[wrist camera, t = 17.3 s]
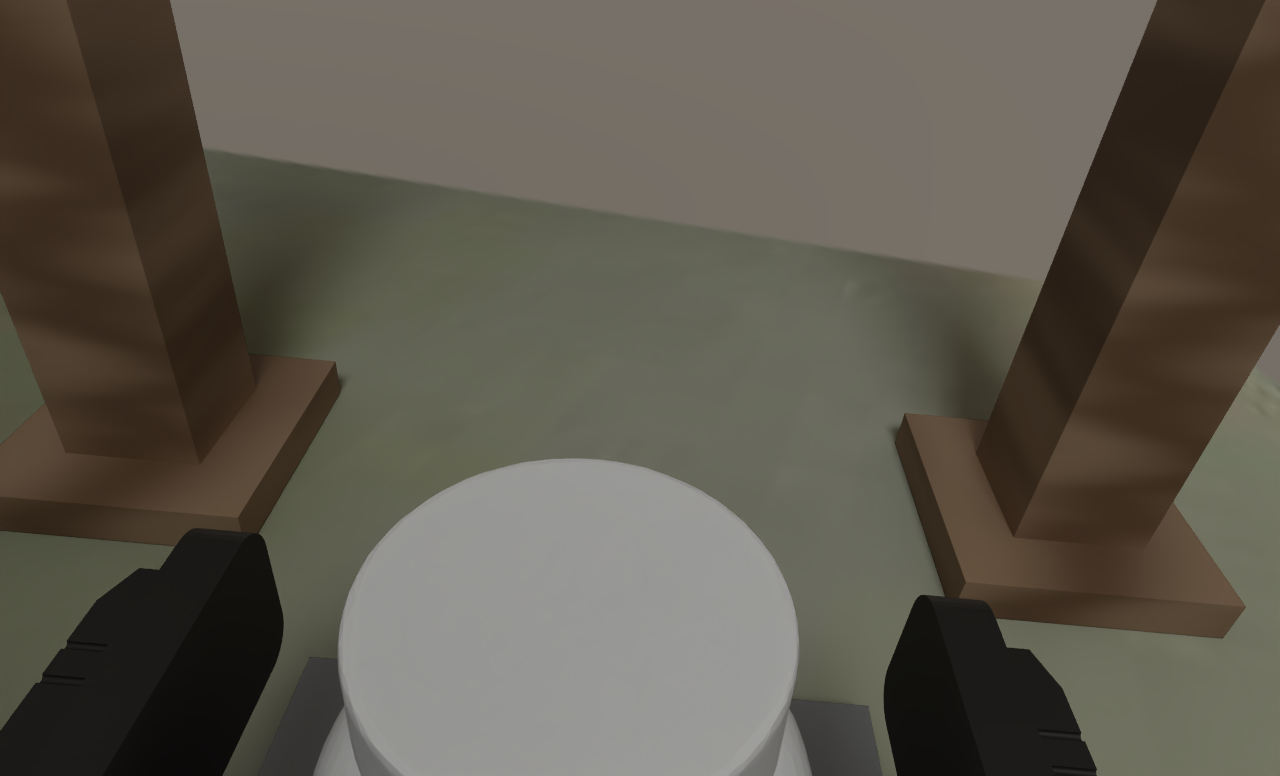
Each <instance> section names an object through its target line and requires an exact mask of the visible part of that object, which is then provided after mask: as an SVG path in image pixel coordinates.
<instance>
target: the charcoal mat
mask: <svg viewBox="0 0 1280 776" xmlns="http://www.w3.org/2000/svg"><path fill="white" fill-rule="evenodd" d="M343 707H344V700H343V695H342V690H341V684H340V679H339V673H338V659H329V658H317V657H309V660H308V662H307V664H306V667H305V669H304V671H303V673H302V676H301V678H300V680H299V682H298V685H297V687H296V689H295V692H294V694H293V696H292V698H291V701H290V703H289V705H288V707H287V710H286V712H285V714H284V717H283V719H282V721H281V723H280V726H279V728H278V730H277V733H276V735H275V737H274V739H273V742H272V744H271V746H270V748H269V751H268V753H267V755H266V758H265V760H264V762H263V764H262V767H261V769H260V771H259V773H258V776H313V774H314V770H315V767H316V764H317V762H318V759H319V756H320V754H321V751H322V748H323V746H324V743H325V741H326V739H327V737H328V735H329V733H330V731H331V729H332V727H333V724H334V722H335V721H336V719H337V717H338V716H339V714H340V712H341V710H342V709H343ZM789 709H790V711H791V713H792V714H793V716H794V719H795V721H796V723H797V726H798V728H799V731H800V734H801V737H802V740H803V742H804V745H805V749H806V753H807V756H808V760H809V764H810V768H811V772H812V776H882V772H881V767H880V762H879V757H878V752H877V747H876V742H875V737H874V732H873V727H872V722H871V717H870V713H869V708H868V706H864V705H853V704H841V703H830V702H819V701H807V700H796V699H791V704H790V708H789Z"/></svg>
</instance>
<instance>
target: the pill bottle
mask: <svg viewBox="0 0 1280 776" xmlns="http://www.w3.org/2000/svg"><path fill="white" fill-rule="evenodd" d="M798 660H799V638H798V624H797V619H796V614H795V610H794V605H793V601H792V597H791V595H790V592H789V590H788V587H787V585H786V582H785V580H784V577H783V575H782V573H781V571H780V569H779V567H778V566H777V564H776V562H775V560H774V558H773V556H772V555H771V554H770V552H769V551H768V550H767V548H766V547H765V546H764V544H763V543H762V542H761V541H760V539H759V538H758V537H757V536H756V535H755V534H754V533H753V532H752V531H751V529H750V528H749V527H748V526H747V525H746V524H745V523H744V522H743V521H742V520H741V519H740V518H738V517H737V516H736V515H735V514H734V513H733V512H731V511H730V510H729V509H728V508H726V507H725V506H724V505H722V504H721V503H720V502H718V501H717V500H715V499H713V498H712V497H710V496H709V495H707V494H706V493H704V492H702V491H701V490H699V489H697V488H695V487H693V486H691V485H689V484H687V483H685V482H682V481H680V480H677V479H675V478H672V477H670V476H667V475H665V474H662V473H659V472H656V471H653V470H651V469H648V468H644V467H640V466H636V465H631V464H626V463H621V462H615V461H608V460H599V459H579V458H575V459H547V460H539V461H531V462H523V463H518V464H513V465H509V466H506V467H502V468H498V469H495V470H491V471H488V472H484V473H481V474H478V475H475V476H473V477H470V478H467V479H465V480H463V481H461V482H459V483H457V484H455V485H453V486H451V487H449V488H447V489H445V490H443V491H441V492H440V493H438V494H436V495H434V496H433V497H431V498H430V499H428V500H427V501H425V502H424V503H423V504H421V505H420V506H419V507H417V508H416V509H415V510H413V511H412V512H410V513H409V514H407V515H406V516H404V517H403V518H402V519H401V520H400V521H399V522H398V523H397V524H396V525H395V526H394V527H393V528H392V529H391V530H390V531H389V532H388V533H387V534H386V535H385V536H384V537H383V538H382V539H381V541H380V542H379V543H378V544H377V545H376V547H375V548H374V549H373V550H372V551H371V553H370V554H369V555H368V557H367V558H366V560H365V562H364V563H363V565H362V567H361V568H360V570H359V572H358V574H357V577H356V579H355V581H354V583H353V585H352V587H351V588H350V590H349V593H348V597H347V600H346V603H345V606H344V609H343V614H342V618H341V623H340V629H339V637H338V673H339V679H340V684H341V690H342V695H343V700H344V707H343V709H342V710H341V712H340V714H339V716H338V717H337V719H336V721H335V722H334V724H333V727H332V729H331V731H330V733H329V735H328V737H327V739H326V741H325V743H324V746H323V748H322V751H321V754H320V756H319V759H318V762H317V764H316V767H315V770H314V774H313V776H812V772H811V768H810V764H809V760H808V756H807V753H806V749H805V745H804V742H803V740H802V737H801V734H800V731H799V728H798V726H797V723H796V721H795V719H794V716H793V714H792V713H791V711H790V709H789V708H790V704H791V699H792V695H793V690H794V686H795V682H796V677H797V669H798Z"/></svg>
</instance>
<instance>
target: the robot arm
mask: <svg viewBox="0 0 1280 776" xmlns="http://www.w3.org/2000/svg"><path fill="white" fill-rule="evenodd" d="M283 625H284V621H283V612H282V608H281V604H280V600H279V596H278V592H277V588H276V584H275V580H274V576H273V572H272V568H271V564H270V559H269V555H268V551H267V547H266V544H265V541H264V539H263V537H262V536H261V535H260V534H258V533H249V532H238V531H227V530H216V529H204V528H194V529H191V530H189V531H188V532H187V533H186V534H185V535H183V537H182V538H181V539H180V540H179V542H178V543H177V545H176V546H175V548H174V549H173V551H172V552H171V554H170V555H169V557H168V558H167V559H166V561H165V562H164V564H163V565H162V567H161V568H160V570H155V569H143V568H139V569H137V570H136V571H135V572H133V573H132V574H131V575H130V576H128V577H127V578H126V579H124V580H123V581H122V582H120V583H119V584H118V585H116V586H115V587H114V588H112V589H111V590H110V591H109V592H107V593H106V594H105V595H103V596H102V597H101V598H99V599H98V600H97V601H96V602H95V603H94V605H93V606H92V607H91V609H90V610H89V611H88V613H87V614H86V615H85V617H84V618H83V620H82V621H81V622H80V624H79V625H78V626H77V628H76V629H75V630H74V632H73V633H72V634H71V636H70V637H69V639H68V640H67V646H66V648H65V649H60V651H59V652H58V653H57V655H56V656H55V657H54V659H53V660H52V662H51V663H50V664H49V666H48V667H47V668H46V670H45V671H44V672H43V674H42V675H43V677H42V680H41V682H40V683H35V685H34V686H33V687H32V689H31V690H30V691H29V693H28V694H27V695H26V697H25V698H24V699H23V701H22V702H21V704H20V705H19V706H18V708H17V709H16V710H15V712H14V713H13V714H12V716H11V717H10V718H9V720H8V721H7V723H6V724H5V725H4V727H3V728H2V729H1V731H0V776H222V775H223V773H224V771H225V769H226V767H227V765H228V763H229V761H230V758H231V756H232V754H233V752H234V750H235V748H236V746H237V744H238V742H239V740H240V737H241V735H242V733H243V731H244V729H245V727H246V725H247V723H248V721H249V719H250V716H251V714H252V712H253V710H254V708H255V706H256V704H257V702H258V700H259V698H260V695H261V693H262V691H263V689H264V687H265V685H266V683H267V681H268V679H269V677H270V674H271V672H272V670H273V668H274V666H275V663H276V661H277V658H278V655H279V651H280V648H281V643H282V637H283ZM884 713H885V721H886V726H887V730H888V735H889V739H890V744H891V749H892V753H893V758H894V762H895V767H896V771H897V776H1096V770H1097V769H1096V766H1095V764H1094V761H1093V759H1092V757H1091V754H1090V752H1089V750H1088V747H1087V745H1086V743H1085V741H1082V740H1081V731H1080V729H1079V726H1078V724H1077V722H1076V719H1075V717H1074V715H1073V712H1072V710H1071V708H1070V705H1069V703H1068V701H1067V698H1066V696H1065V694H1064V691H1063V689H1062V688H1061V686H1060V685H1059V684H1058V683H1057V682H1056V681H1055V679H1054V678H1053V677H1052V676H1051V675H1050V674H1049V672H1048V671H1047V670H1046V669H1045V668H1044V666H1043V665H1042V664H1041V663H1040V662H1039V661H1038V659H1037V658H1036V657H1035V656H1034V655H1033V654H1032V652H1031V651H1030V650H1029V649H1017V648H1007V647H1006V645H1005V642H1004V639H1003V637H1002V634H1001V631H1000V629H999V626H998V624H997V621H996V618H995V616H994V614H993V611H992V609H991V608H990V606H989V605H988V604H987V603H986V602H985V601H983V600H974V599H963V598H952V597H941V596H930V595H920V596H919V597H918V598H917V599H916V600H915V602H914V604H913V607H912V609H911V612H910V614H909V617H908V619H907V622H906V624H905V627H904V629H903V632H902V634H901V637H900V639H899V642H898V644H897V647H896V649H895V652H894V654H893V657H892V659H891V662H890V664H889V667H888V670H887V673H886V677H885V684H884Z"/></svg>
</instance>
